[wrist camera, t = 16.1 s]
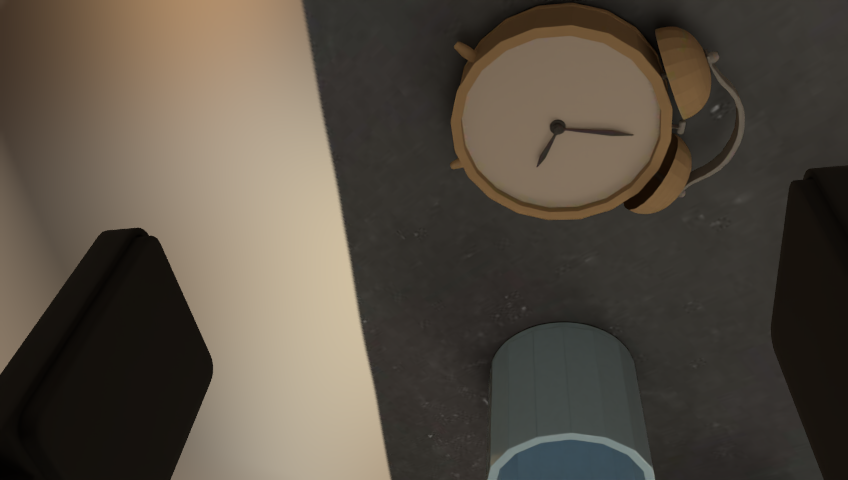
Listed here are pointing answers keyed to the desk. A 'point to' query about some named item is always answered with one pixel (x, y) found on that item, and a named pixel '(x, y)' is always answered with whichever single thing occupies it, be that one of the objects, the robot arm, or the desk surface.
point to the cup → (565, 408)
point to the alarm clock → (582, 113)
